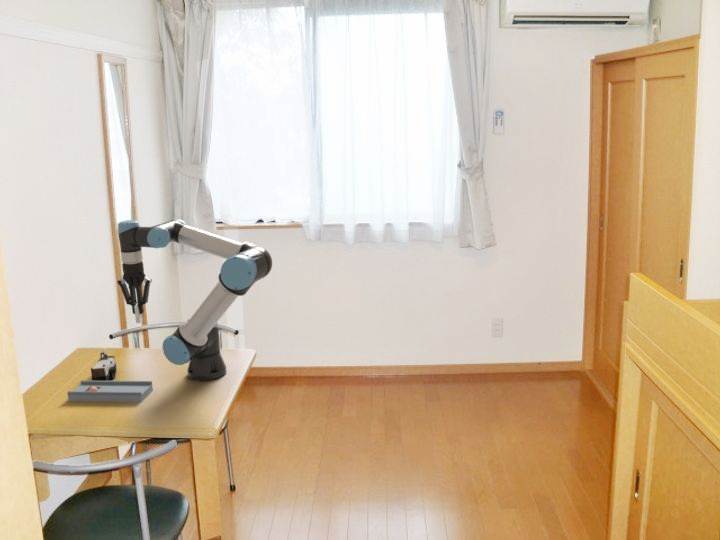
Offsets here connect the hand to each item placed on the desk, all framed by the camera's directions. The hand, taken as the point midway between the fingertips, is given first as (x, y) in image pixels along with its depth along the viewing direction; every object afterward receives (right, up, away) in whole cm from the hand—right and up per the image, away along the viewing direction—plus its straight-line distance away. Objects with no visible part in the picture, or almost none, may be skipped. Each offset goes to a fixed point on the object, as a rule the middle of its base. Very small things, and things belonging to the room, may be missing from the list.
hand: (139, 321), depth 287 cm
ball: (-15, -26, -6) cm, 31 cm away
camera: (-16, -23, +11) cm, 31 cm away
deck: (-9, -27, -7) cm, 29 cm away
